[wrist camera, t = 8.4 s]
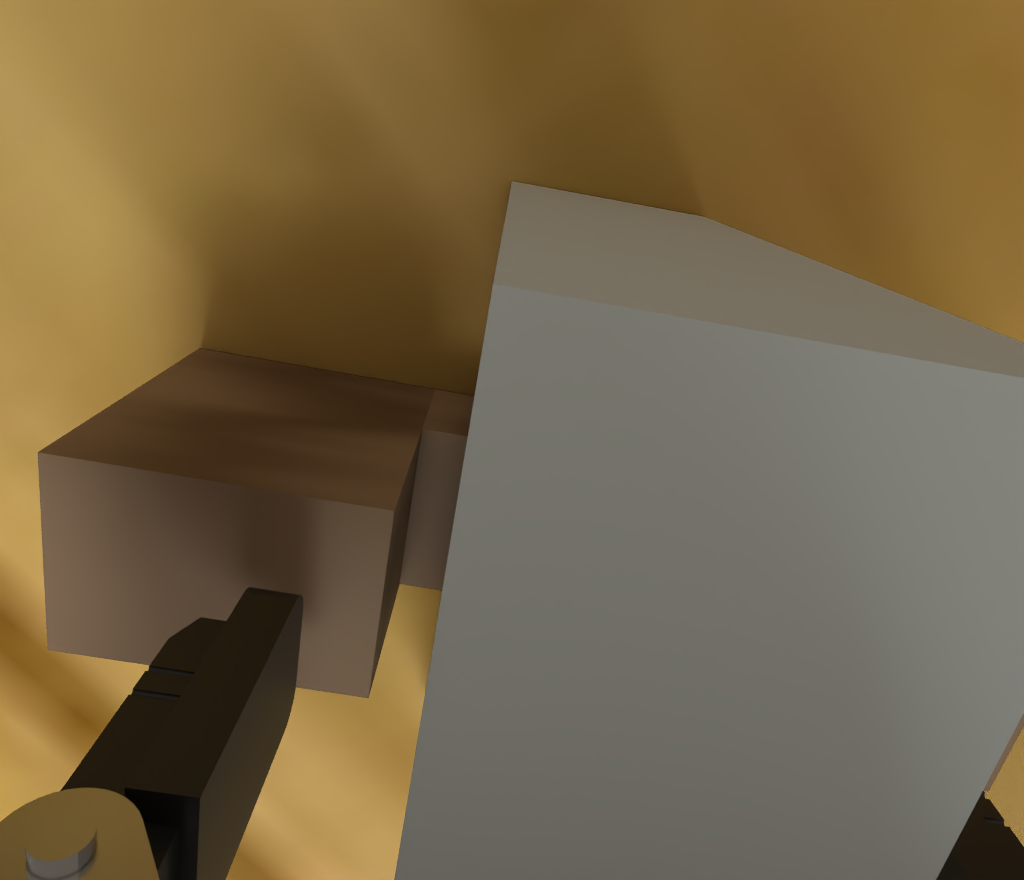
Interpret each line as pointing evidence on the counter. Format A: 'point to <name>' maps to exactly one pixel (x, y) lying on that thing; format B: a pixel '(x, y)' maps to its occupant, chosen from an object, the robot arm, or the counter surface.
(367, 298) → the counter surface
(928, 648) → the plain gray rectangular block
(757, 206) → the counter surface
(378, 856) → the counter surface
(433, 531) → the walnut stand
